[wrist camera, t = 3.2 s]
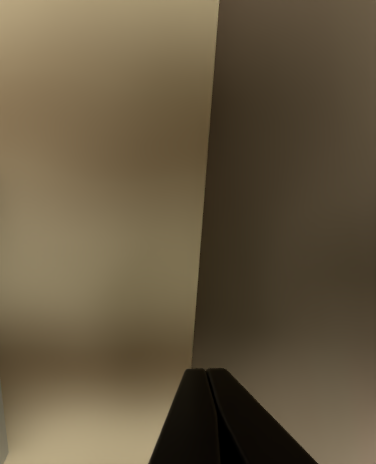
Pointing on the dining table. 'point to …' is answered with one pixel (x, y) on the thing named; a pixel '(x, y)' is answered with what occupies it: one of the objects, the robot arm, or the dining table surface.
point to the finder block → (2, 432)
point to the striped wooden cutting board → (99, 219)
